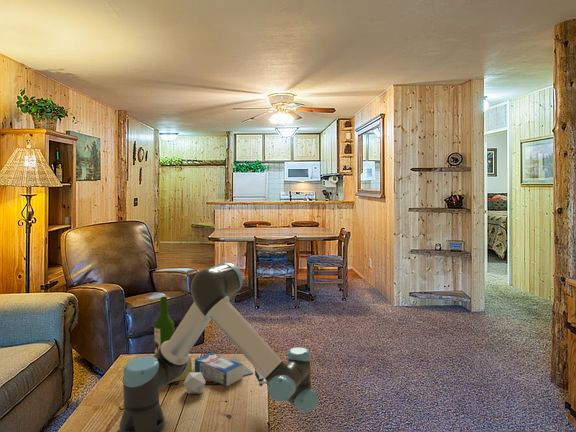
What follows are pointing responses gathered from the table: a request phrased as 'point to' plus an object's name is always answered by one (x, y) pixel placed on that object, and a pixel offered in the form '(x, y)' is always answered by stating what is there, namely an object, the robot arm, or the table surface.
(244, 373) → the slate mat
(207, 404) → the table surface
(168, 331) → the wine bottle
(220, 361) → the milk carton
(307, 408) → the robot arm
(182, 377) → the cheese
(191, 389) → the die
